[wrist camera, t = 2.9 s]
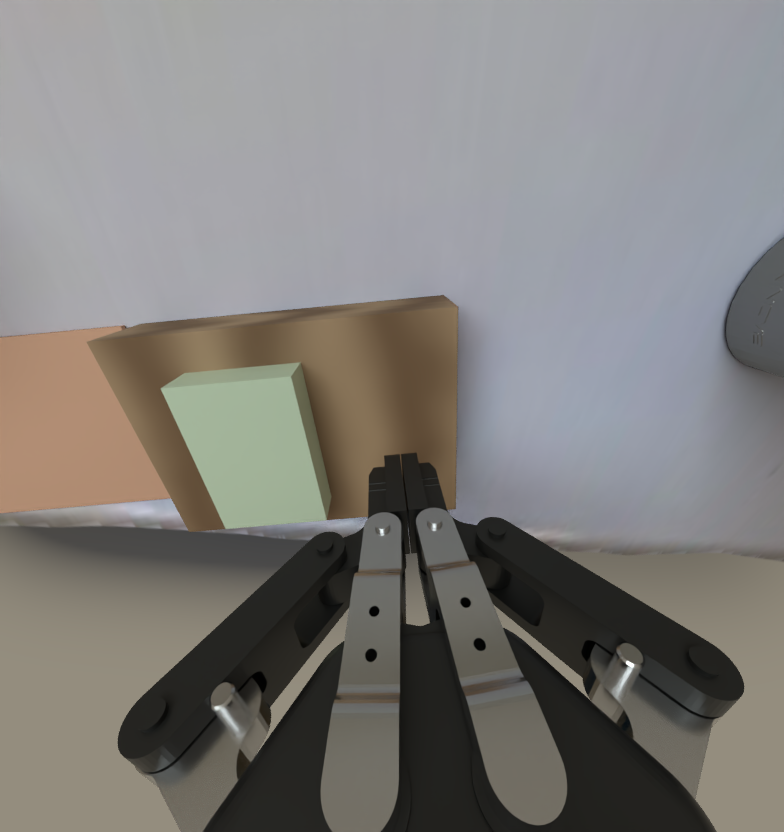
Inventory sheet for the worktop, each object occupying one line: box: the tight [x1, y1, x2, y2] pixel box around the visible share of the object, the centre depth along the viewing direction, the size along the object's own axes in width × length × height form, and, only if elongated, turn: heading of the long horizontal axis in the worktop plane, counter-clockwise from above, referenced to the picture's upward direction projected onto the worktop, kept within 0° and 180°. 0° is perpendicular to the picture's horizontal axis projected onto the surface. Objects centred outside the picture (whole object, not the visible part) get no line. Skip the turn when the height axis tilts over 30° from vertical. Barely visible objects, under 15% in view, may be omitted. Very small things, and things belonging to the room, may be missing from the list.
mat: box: [0, 326, 171, 513], centre depth 22 cm, size 16×13×1 cm
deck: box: [87, 295, 458, 532], centre depth 20 cm, size 18×13×4 cm
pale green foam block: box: [161, 362, 331, 529], centre depth 18 cm, size 6×9×2 cm, turn 5°
